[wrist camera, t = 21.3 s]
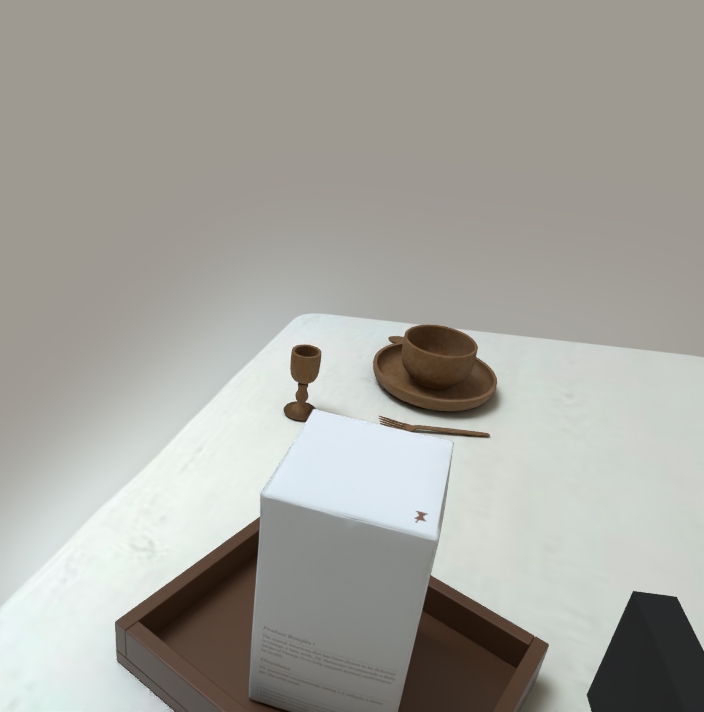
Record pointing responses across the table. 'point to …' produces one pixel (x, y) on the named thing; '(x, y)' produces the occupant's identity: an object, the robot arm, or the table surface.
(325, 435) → the white packaging box
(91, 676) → the table surface
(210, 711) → the tray
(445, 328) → the place setting
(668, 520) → the table surface
